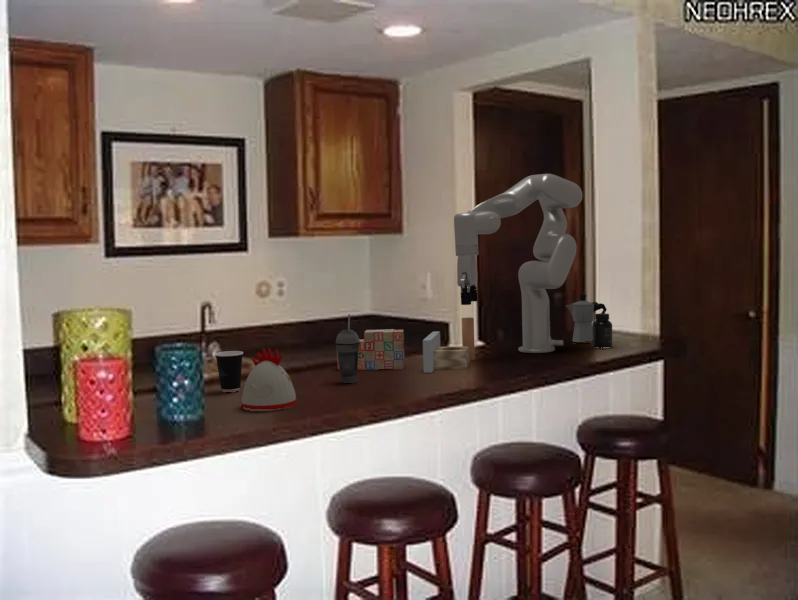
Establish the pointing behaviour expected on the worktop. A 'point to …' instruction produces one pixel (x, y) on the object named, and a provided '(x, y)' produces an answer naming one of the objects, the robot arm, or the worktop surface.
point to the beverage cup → (348, 354)
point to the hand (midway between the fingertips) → (469, 303)
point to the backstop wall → (430, 350)
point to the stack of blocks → (381, 350)
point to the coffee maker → (584, 318)
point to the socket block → (451, 358)
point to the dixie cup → (229, 369)
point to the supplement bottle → (602, 331)
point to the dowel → (468, 336)
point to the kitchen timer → (268, 384)
